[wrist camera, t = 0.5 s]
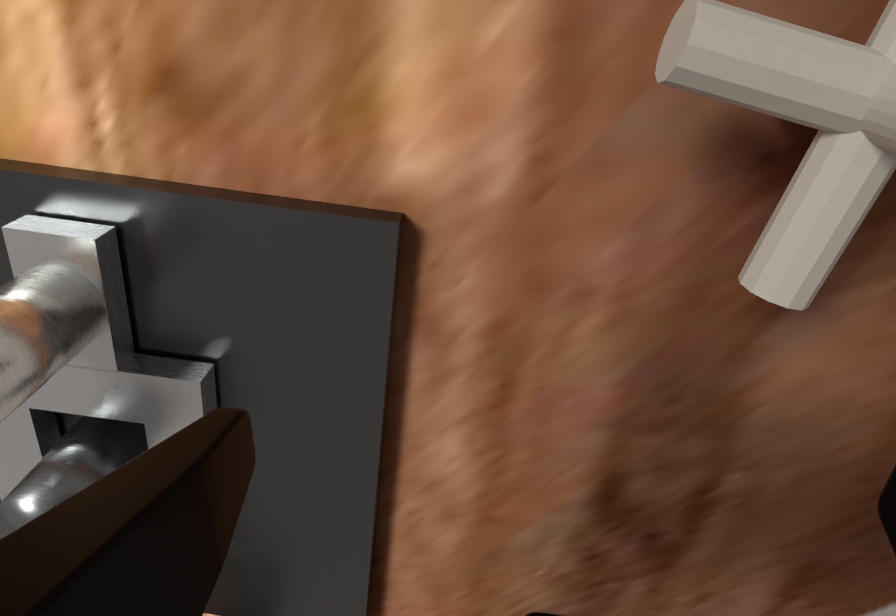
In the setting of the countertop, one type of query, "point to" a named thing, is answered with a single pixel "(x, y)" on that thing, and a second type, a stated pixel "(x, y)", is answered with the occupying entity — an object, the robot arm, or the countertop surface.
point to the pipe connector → (804, 102)
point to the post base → (244, 366)
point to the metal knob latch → (79, 346)
